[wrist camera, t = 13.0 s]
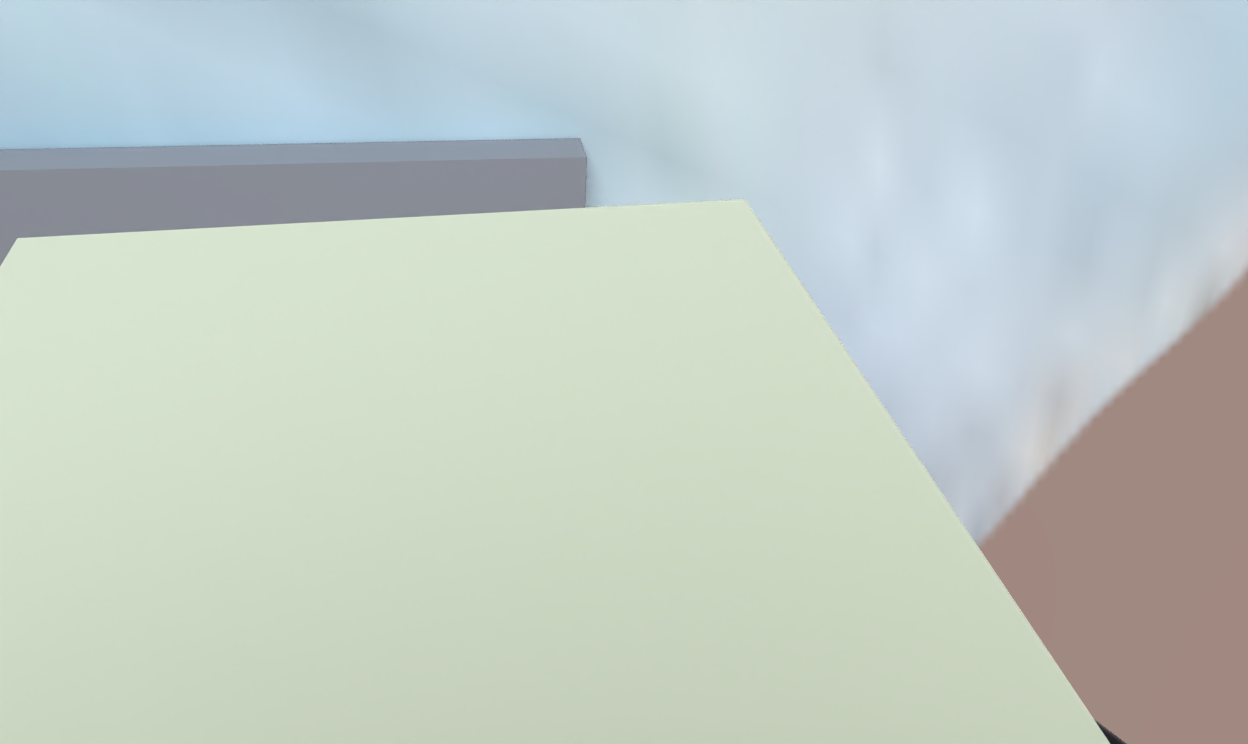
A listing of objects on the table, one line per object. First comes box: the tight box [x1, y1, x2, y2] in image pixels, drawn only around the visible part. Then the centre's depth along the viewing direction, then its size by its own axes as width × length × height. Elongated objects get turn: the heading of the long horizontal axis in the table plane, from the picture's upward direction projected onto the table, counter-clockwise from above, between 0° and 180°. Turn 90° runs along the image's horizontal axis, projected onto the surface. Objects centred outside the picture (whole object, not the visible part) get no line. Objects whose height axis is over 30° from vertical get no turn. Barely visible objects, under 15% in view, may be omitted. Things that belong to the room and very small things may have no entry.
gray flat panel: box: [0, 138, 587, 266], centre depth 19 cm, size 20×14×1 cm
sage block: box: [0, 199, 1110, 744], centre depth 7 cm, size 5×5×5 cm
